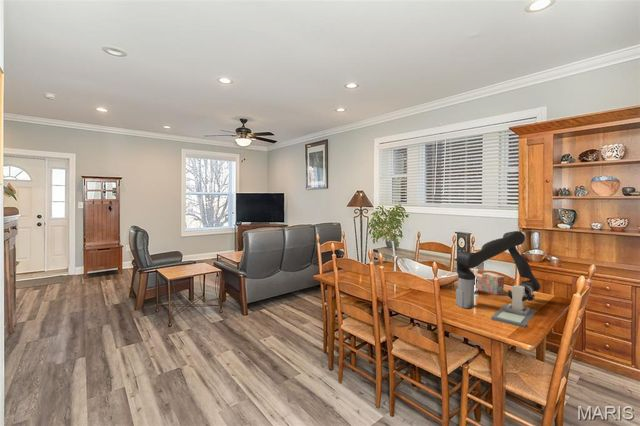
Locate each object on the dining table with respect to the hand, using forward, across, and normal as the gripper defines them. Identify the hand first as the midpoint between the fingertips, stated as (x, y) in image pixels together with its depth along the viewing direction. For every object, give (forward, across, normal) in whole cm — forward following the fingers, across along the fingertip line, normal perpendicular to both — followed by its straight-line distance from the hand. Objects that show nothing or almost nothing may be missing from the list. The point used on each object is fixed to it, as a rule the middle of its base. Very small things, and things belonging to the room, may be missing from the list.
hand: (517, 298), depth 180 cm
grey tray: (+4, 0, +9) cm, 10 cm away
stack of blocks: (-37, -26, +10) cm, 46 cm away
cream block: (-3, 0, +8) cm, 8 cm away
